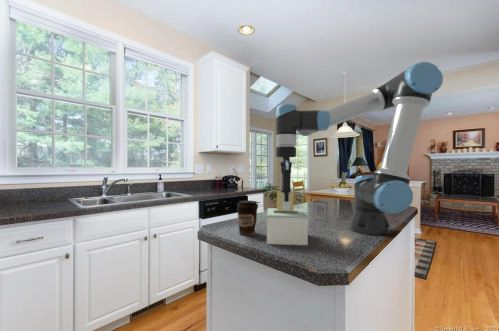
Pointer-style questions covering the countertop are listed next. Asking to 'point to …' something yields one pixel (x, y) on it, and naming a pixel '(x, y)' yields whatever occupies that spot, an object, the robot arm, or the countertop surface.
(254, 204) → the coffee cup
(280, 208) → the pale yellow block
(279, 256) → the countertop surface
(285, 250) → the countertop surface
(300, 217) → the coin box
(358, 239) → the countertop surface
